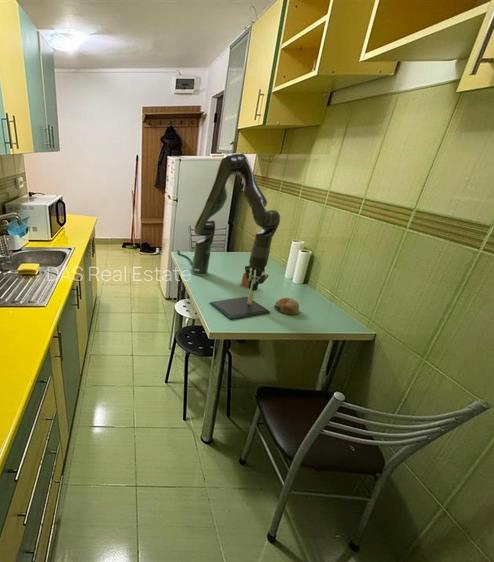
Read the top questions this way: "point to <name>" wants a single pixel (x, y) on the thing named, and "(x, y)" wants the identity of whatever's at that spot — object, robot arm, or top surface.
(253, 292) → the stylus
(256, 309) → the plate
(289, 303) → the bread roll
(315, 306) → the top surface
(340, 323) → the top surface
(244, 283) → the pen pot
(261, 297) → the top surface
